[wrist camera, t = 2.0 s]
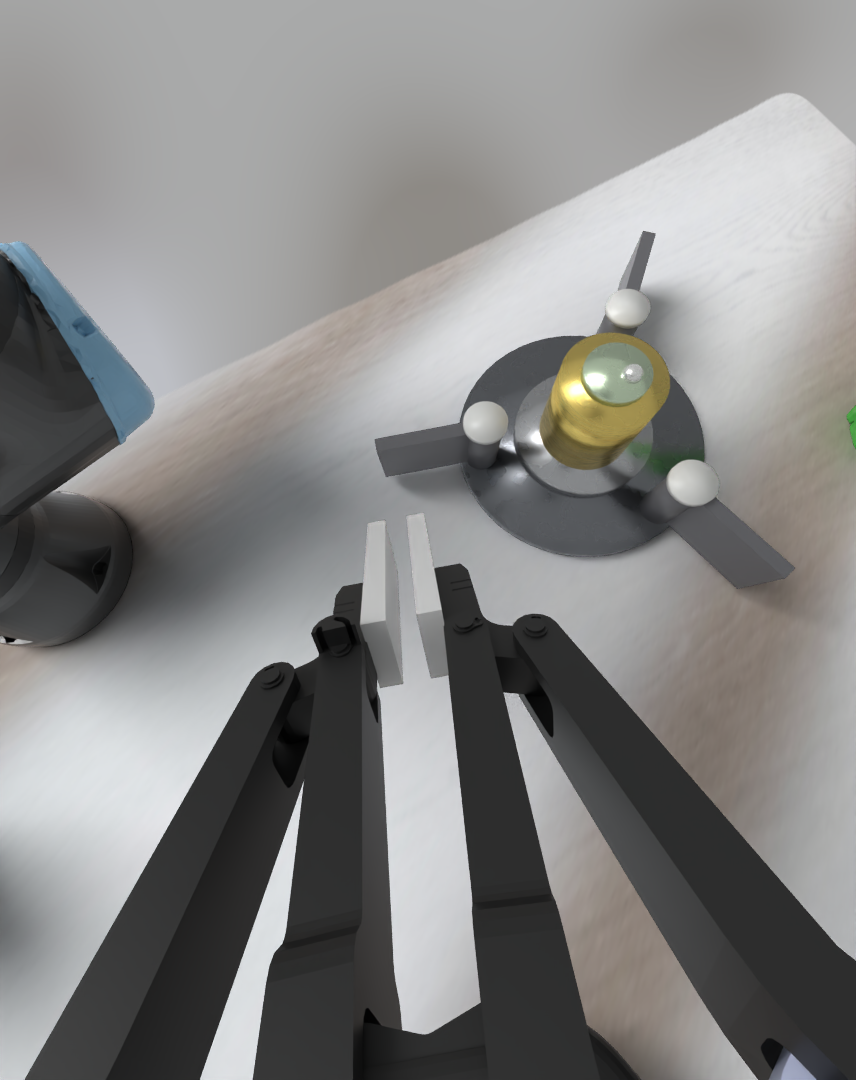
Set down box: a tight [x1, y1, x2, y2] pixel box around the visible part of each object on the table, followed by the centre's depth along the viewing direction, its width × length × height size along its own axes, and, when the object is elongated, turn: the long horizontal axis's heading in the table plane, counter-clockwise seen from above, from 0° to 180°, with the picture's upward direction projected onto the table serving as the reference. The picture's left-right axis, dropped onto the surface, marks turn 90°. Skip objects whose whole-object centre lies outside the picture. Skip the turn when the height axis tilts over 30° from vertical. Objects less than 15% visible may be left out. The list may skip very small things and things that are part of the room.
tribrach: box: [460, 333, 704, 557], centre depth 37 cm, size 24×24×12 cm
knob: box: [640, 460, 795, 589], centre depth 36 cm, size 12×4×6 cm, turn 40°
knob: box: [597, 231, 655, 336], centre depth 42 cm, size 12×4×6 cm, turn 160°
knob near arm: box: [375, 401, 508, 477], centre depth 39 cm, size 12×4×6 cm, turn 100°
